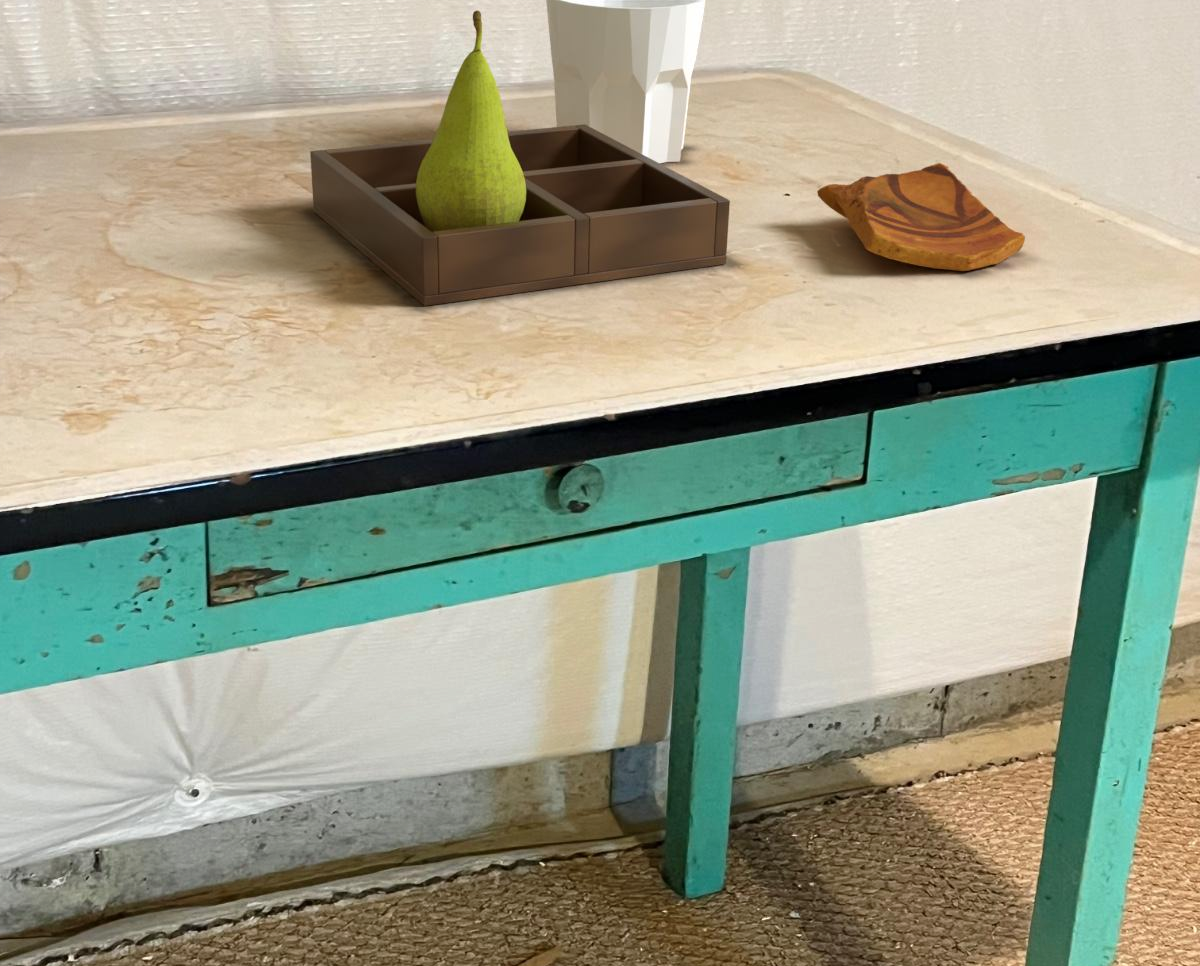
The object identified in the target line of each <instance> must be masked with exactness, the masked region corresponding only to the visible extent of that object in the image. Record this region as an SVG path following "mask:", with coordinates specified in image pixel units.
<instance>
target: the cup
mask: <svg viewBox="0 0 1200 966" xmlns="http://www.w3.org/2000/svg"><path fill="white" fill-rule="evenodd" d="M545 1H546V13H547V23H548V33H549V44H550V45H549V46H550V55H551V64H552V73H553V81H554V102H555V121H556V127H562V126H572V125H573V126H575V125H583V124H585V125H587V126H589V127H591V128H593V129H595V130H597V131H599V132H601V133H602V134H604V135H606V136H608V137H610V138H612V139H614V140H616V141H618V142H620V143H621V144H623V145H625V146H627V147H629V148H631V149H633V150H635V151H637V152H639V153H641V154H642V155H644V156H646V157H648V158H650V159H652V160H654V161H656V162H658V163H660V164H664V163H676V162H678V163H679V162H681V156H682V150H683V149H684V144H685V143H684V142H685V134H686V126H687V118H688V117H687V116H688V108H689V99H690V91H691V81H692V75H693V72H694V67H695V64H696V60H697V56H698V55H697V53H698V48H699V43H700V37H701V31H702V25H703V24H702V23H703V18H704V13H705V8H706V2H707V1H706V0H545Z"/></svg>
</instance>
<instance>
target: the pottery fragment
mask: <svg viewBox="0 0 1200 966" xmlns="http://www.w3.org/2000/svg"><path fill="white" fill-rule="evenodd" d="M816 193H817V197H818V198H819V199H820V200H821V201H822V202H823V203H824V204H825V205H826V206H828V207H829V208H830V209H831V210H833V211H834V212H836V213H837V214H839V215H840V216H842V217H844V218H845V219H847V221H848V222H849V225H850V226H851V228H852V229H853V231H854V233H855V234H856V235H857V237H858V239H859V240H860V241H861V243H862V245H863V246H864V248H865V249H866V251H868V252H871V253H872V254H875V255H878V256H881V257H884V258H886V259H890V260H892V261H898V262H900V263H905V264H909V265H914V266H918V267H926V268H931V269H938V270H950V271H960V272H965V271H966V272H967V271H971V270H976V269H981V268H985V267H988V266H991V265H997V264H1001V262H1003V261H1006V260H1007V259H1009V258H1010V257H1012V256H1014V255H1015V254H1017V253H1018V252H1020V250H1021V249H1022V248H1023V246H1024V244H1025V240H1026V235H1024V233H1022V232H1019V231H1015V230H1013V229H1012V228H1010V227H1009V226H1008V225H1007V224H1006V223H1004V222H1003V221H1002V220H1001V219H1000V218H999V217H998V216H996V215H994V213H993V212H992V210H990V209H989V208H988V207H987V206H985V204H984V203H982V201H980V200H979V199H978V198H977V196H975V195H973V194H972V191H970V189H968V188H967V186H966V185H965V184H964V183H963V182H962V180H960V179H958V177H957V176H956V175H955V173H953V172H952V171H951V169H949V166H948V165H945V164H943V163H942V162H938V163H935V164H931V165H928V166H925V167H923V168H921V169H919V170H913V171H908V172H904V173H903V172H902V173H885V174H882V175H879V176H870V175H866V176H862V177H860V178H859V179H858V180H855V181H853V182H852V183H849V184H838V183H831V184H827V185H825V186H823V187H820V188H819V189H818V190H817V192H816Z"/></svg>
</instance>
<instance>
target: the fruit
mask: <svg viewBox="0 0 1200 966" xmlns="http://www.w3.org/2000/svg"><path fill="white" fill-rule="evenodd" d="M472 22H473V23H472V24H473V27H474V28H475V32H476V33H475V34H476V36H475V43H474V48H473V50H472V51H471V52H469V53H468V55H467V56H466V57H465V58H464V60H463V61H462V63H461V66H460V68H459V70H458V71H457V74H456V77H455V79H454V82H453V84H452V87H451V89H450V91H449V94H448V97H447V100H446V103H445V107H444V111H443V113H442V116H441V119H440V122H439V125H438V128H437V131H436V134H435V137H434V138H433V139H434V141H433V143H432V145H431V146H430V148H429V150H428V152H427V153H426V155H425V157H424V159H423V161H422V163H421V165H420V168H419V171H418V175H417V180H416V197H417V202H418V206H419V210H420V214H421V216H422V219H423V221H424V223H425V225H426V227H427V229H428V230H430V231H431V232H434V231H442V230H451V229H459V228H467V227H475V226H484V225H492V224H500V223H508V222H517V221H519V219H520V217H521V215H522V213H523V210H524V206H525V201H526V184H525V179H524V175H523V171H522V169H521V167H520V164H519V162H518V160H517V158H516V157H515V155H514V153H513V151H512V149H511V146H510V142H509V139H508V133H507V132H508V128H507V124H506V123H507V122H506V117H505V112H504V109H503V104H502V99H501V95H500V92H499V89H498V84H497V82H496V80H495V77H494V74H493V72H492V70H491V68H490V65H489V62H488V61H487V58H486V57H485V55H484V54H483V52H482V41H483V40H482V38H483V22H482V13H481V11H480V10H474V11H473V13H472Z"/></svg>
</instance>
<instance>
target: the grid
mask: <svg viewBox="0 0 1200 966" xmlns="http://www.w3.org/2000/svg"><path fill="white" fill-rule="evenodd" d="M507 133H508V139H509V142H510V146H511V149H512V151H513V153H514V155H515V157H516V158H517V160H518V162H519V164H520V167H521V169H522V171H523V175H524V179H525V184H526V201H525V206H524V210H523V213H522V215H521V217H520V219H519V221H517V222H508V223H500V224H492V225H484V226H475V227H467V228H459V229H451V230H442V231H434V232H431V231H430V230H428V229H427V227H426V225H425V223H424V221H423V219H422V216H421V214H420V210H419V206H418V202H417V197H416V180H417V175H418V171H419V168H420V165H421V163H422V161H423V159H424V157H425V155H426V153H427V152H428V150H429V148H430V146H431V145H432V143H433V141H434V139H435V138H431V139H430V138H429V139H419V140H411V141H410V140H409V141H400V142H387V143H380V144H379V143H378V144H370V145H359V146H358V145H357V146H347V147H339V148H338V147H337V148H329V149H328V148H327V149H318V150H317V149H316V150H310V153H309V154H310V169H311V173H310V174H311V188H312V189H311V190H312V203H313V204H312V207H313V212H314V213H315V214H316V215H317V216H318V217H320V218H321V219H322V221H324V222H326V224H328V225H329V226H330V227H332V229H334V230H335V231H336V232H337V233H338V234H339V235H340V236H342V237H343V238H344V239H345V240H347V241H348V242H349V243H350V244H351V245H352V246H354V248H356V249H357V250H358V251H359V252H360V253H361V254H363V255H364V256H365V257H367V258H368V259H369V260H370V261H371V262H372V263H373V264H375V265H376V266H377V267H378V268H379V269H380V270H382V271H383V272H384V274H386V275H387V276H388V277H390V278H391V279H392V280H393V281H394V282H396V283H397V284H398V285H399V286H401V288H403V289H404V290H405V291H406V292H407V293H409V295H411V296H412V297H413V298H415V300H417V301H418V303H421V305H423V306H424V307H427V306H428V307H429V306H435V305H440V304H441V305H442V304H448V303H456V302H462V301H469V300H477V299H484V298H491V297H500V296H505V295H506V296H507V295H513V294H519V293H526V292H527V293H528V292H533V291H534V292H535V291H541V290H550V289H556V288H565V287H571V286H577V285H584V284H592V283H598V282H606V281H612V280H614V281H615V280H619V279H621V280H622V279H628V278H635V277H641V276H642V277H643V276H649V275H657V274H664V273H671V272H678V271H684V270H691V269H692V270H693V269H698V268H705V267H713V266H720V265H726V264H727V257H728V256H727V252H728V239H729V238H728V235H729V234H728V233H729V221H730V205H731V204H730V203H731V201H730V199H729V198H726V197H724V196H723V195H720V194H718V193H717V192H715V191H713V190H712V189H709V188H707V187H706V186H703V185H701V184H700V183H698V182H695V181H694V180H692V179H690V178H689V177H686V176H685V175H683V174H680V173H679V172H677V171H675V170H673V169H672V168H669V167H667V166H666V165H663V164H662V163H658V162H656V161H654V160H652V159H650V158H648V157H646V156H644V155H642V154H641V153H639V152H637V151H635V150H633V149H631V148H629V147H627V146H625V145H623V144H621V143H620V142H618V141H616V140H614V139H612V138H610V137H608V136H606V135H604V134H602V133H601V132H599V131H597V130H595V129H593V128H591V127H589V126H587V125H585V124H583V125H575V126H573V125H572V126H562V127H557V126H553V127H542V128H532V129H522V130H521V129H520V130H512V131H507Z"/></svg>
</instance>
